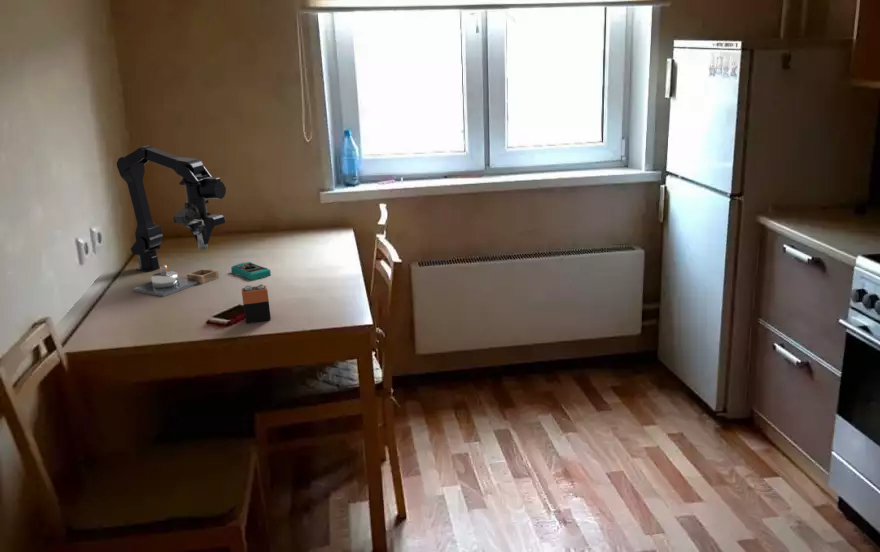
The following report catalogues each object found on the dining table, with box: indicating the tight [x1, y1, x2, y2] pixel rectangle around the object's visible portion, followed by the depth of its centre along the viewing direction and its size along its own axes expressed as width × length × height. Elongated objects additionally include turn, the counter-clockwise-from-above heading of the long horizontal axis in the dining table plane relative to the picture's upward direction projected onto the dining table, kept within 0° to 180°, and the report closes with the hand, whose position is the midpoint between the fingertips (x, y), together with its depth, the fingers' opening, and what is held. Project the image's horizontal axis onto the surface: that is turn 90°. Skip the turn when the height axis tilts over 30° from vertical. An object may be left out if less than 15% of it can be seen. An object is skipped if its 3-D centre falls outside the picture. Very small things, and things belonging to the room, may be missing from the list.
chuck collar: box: [151, 264, 179, 288], centre depth 252 cm, size 16×8×6 cm, turn 21°
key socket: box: [186, 268, 220, 285], centre depth 256 cm, size 7×7×2 cm
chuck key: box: [192, 228, 209, 251], centre depth 260 cm, size 3×6×7 cm, turn 149°
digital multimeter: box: [230, 261, 272, 281], centre depth 260 cm, size 7×15×3 cm, turn 41°
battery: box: [241, 284, 272, 324], centre depth 215 cm, size 4×7×10 cm, turn 106°
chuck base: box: [133, 277, 199, 297], centre depth 250 cm, size 14×14×1 cm
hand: (202, 243), depth 261 cm, fingers closed on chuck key, 3 cm apart
